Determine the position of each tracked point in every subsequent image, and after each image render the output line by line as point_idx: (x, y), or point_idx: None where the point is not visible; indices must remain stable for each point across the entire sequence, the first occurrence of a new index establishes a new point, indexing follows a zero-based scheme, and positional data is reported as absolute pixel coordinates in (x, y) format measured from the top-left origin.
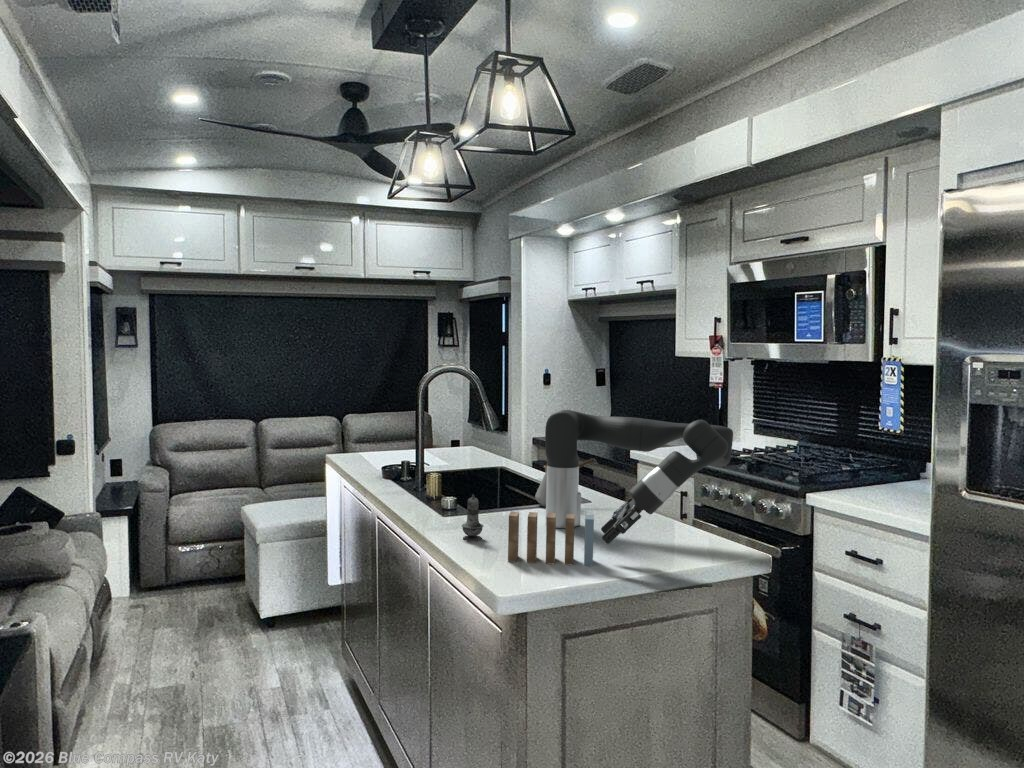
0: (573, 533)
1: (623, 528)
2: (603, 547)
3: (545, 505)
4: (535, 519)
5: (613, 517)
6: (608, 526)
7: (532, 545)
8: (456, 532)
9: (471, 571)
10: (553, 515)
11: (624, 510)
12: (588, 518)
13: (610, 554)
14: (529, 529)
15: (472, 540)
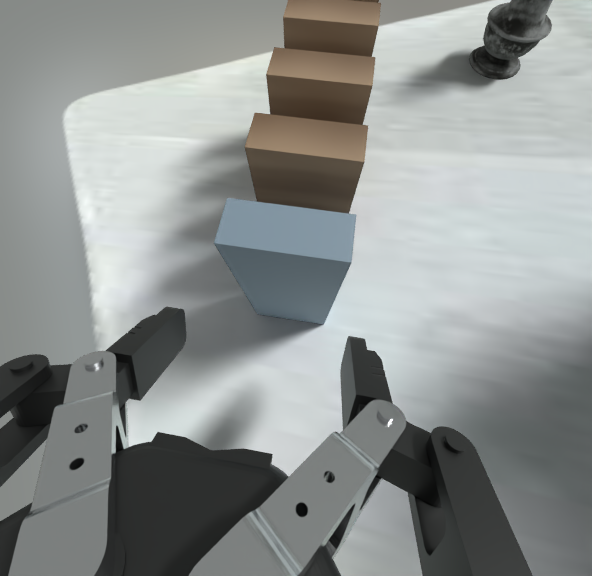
0: (257, 199)
1: (12, 414)
2: (493, 394)
3: None
4: (284, 29)
5: (361, 412)
6: (348, 375)
7: None
8: (545, 37)
9: (229, 62)
10: (317, 72)
11: (35, 495)
12: (245, 217)
13: (398, 403)
14: None
15: (472, 60)
